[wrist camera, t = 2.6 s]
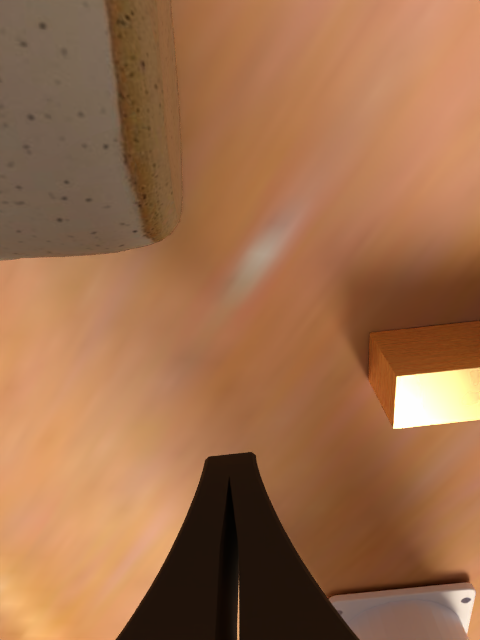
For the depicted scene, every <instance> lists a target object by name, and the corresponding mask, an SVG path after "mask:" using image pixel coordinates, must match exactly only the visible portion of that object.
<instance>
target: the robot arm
mask: <svg viewBox="0 0 480 640" xmlns="http://www.w3.org/2000/svg"><path fill="white" fill-rule="evenodd" d="M238 585H239V620H240V622H239V640H469V639H468V636H467V632H468V627H469V622H470V618H471V613H472V609H473V604H474V599H475V595H476V591H475V589H474V587H473V585H472V584H471V583H468V582H464V583H454V584H444V585H434V586H424V587H414V588H404V589H394V590H384V591H374V592H364V593H354V594H344V595H335V596H332V597H330V598H329V599H328V598H327V597H326V595H325V594H324V593H323V591H322V590H321V588H320V587H319V585H318V584H317V583H316V581H315V580H314V578H313V577H312V575H311V574H310V572H309V571H308V569H307V567H306V566H305V564H304V563H303V561H302V560H301V558H300V556H299V555H298V553H297V551H296V550H295V548H294V546H293V544H292V543H291V541H290V539H289V537H288V536H287V534H286V532H285V530H284V528H283V526H282V524H281V522H280V520H279V518H278V516H277V514H276V512H275V510H274V508H273V506H272V504H271V501H270V499H269V497H268V495H267V492H266V490H265V487H264V485H263V482H262V479H261V476H260V473H259V470H258V466H257V462H256V455H255V454H253V453H252V452H248V453H238V454H229V455H220V456H210V457H208V458H207V459H206V460H205V463H204V468H203V471H202V475H201V478H200V481H199V484H198V487H197V490H196V493H195V496H194V498H193V501H192V503H191V506H190V508H189V511H188V513H187V516H186V518H185V520H184V523H183V525H182V527H181V529H180V531H179V533H178V536H177V538H176V540H175V542H174V544H173V546H172V548H171V550H170V552H169V554H168V556H167V558H166V560H165V562H164V564H163V566H162V567H161V569H160V571H159V573H158V575H157V576H156V578H155V580H154V582H153V583H152V585H151V587H150V588H149V590H148V592H147V593H146V595H145V596H144V598H143V600H142V601H141V603H140V604H139V606H138V608H137V609H136V611H135V612H134V614H133V615H132V617H131V618H130V620H129V621H128V623H127V624H126V626H125V627H124V629H123V630H122V632H121V633H120V634H119V636H118V637H117V638H116V640H237V613H238Z"/></svg>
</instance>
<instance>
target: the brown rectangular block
mask: <svg viewBox="0 0 480 640" xmlns="http://www.w3.org/2000/svg"><path fill="white" fill-rule="evenodd" d="M368 380H369V382H370V384H371V386H372V388H373V390H374V392H375V394H376V396H377V398H378V400H379V402H380V403H381V405H382V407H383V409H384V411H385V413H386V415H387V417H388V419H389V421H390V423H391V425H392V427H393V429H396V428H406V427H415V426H424V425H434V424H443V423H453V422H462V421H471V420H480V321H472V322H463V323H454V324H445V325H436V326H427V327H418V328H409V329H400V330H391V331H382V332H373V333H370V341H369V377H368Z"/></svg>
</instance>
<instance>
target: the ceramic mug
mask: <svg viewBox="0 0 480 640" xmlns="http://www.w3.org/2000/svg"><path fill="white" fill-rule="evenodd" d="M181 212H182V158H181V133H180V113H179V98H178V84H177V72H176V57H175V43H174V33H173V23H172V11H171V0H0V261H1V260H13V259H20V258H37V257H65V256H82V255H96V254H106V253H115V252H120V251H125V250H129V249H134V248H138V247H143V246H147V245H150V244H153V243H156V242H159V241H161V240H163V239H164V238H165V237H167V236H168V235H170V234H171V233H172V231H173V230H174V229H175V227H176V226H177V224H178V223H179V221H180V217H181Z"/></svg>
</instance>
